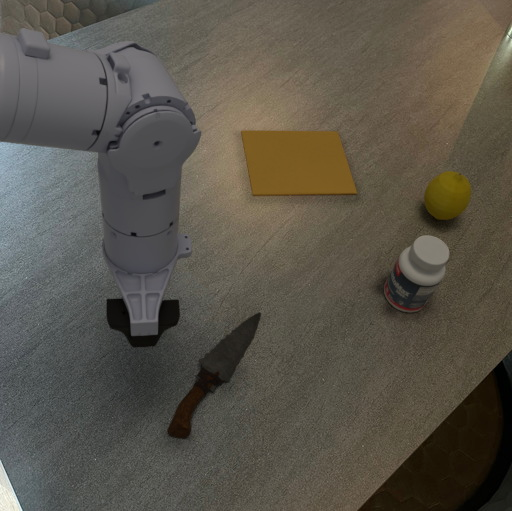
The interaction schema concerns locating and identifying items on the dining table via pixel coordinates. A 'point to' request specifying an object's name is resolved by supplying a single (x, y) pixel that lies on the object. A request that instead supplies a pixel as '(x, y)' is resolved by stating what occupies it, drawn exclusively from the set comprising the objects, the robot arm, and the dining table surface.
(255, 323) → the knife
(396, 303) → the pill bottle
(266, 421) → the dining table surface
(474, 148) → the dining table surface
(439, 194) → the fruit
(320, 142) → the cloth
